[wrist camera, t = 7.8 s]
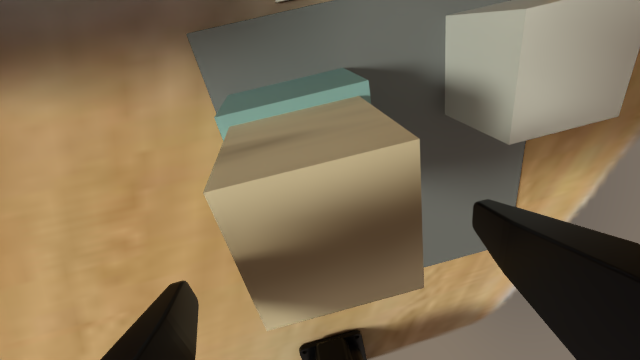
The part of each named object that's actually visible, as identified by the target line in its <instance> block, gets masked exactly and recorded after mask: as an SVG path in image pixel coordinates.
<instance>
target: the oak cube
mask: <svg viewBox="0 0 640 360" xmlns="http://www.w3.org/2000/svg"><path fill="white" fill-rule="evenodd" d="M203 193H204V196H205V198H206V200H207V202H208V204H209V206H210V209H211V211H212V213H213V215H214V217H215V219H216V222H217V224H218V226H219V228H220V230H221V233H222V235H223V237H224V239H225V241H226V243H227V246H228V248H229V250H230V252H231V254H232V257H233V259H234V261H235V263H236V265H237V267H238V270H239V272H240V274H241V276H242V278H243V280H244V283H245V285H246V287H247V289H248V291H249V294H250V296H251V298H252V300H253V302H254V304H255V307H256V309H257V311H258V313H259V315H260V318H261V320H262V322H263V324H264V326H265V328H266V331H270V330H273V329H277V328H280V327H284V326H288V325H291V324H295V323H298V322H302V321H306V320H309V319H313V318H317V317H320V316H324V315H327V314H331V313H335V312H338V311H342V310H345V309H349V308H353V307H356V306H360V305H363V304H367V303H371V302H374V301H378V300H381V299H385V298H389V297H392V296H396V295H399V294H403V293H407V292H410V291H414V290H417V289H421V288H424V269H423V236H422V202H421V168H420V139H419V138H418V137H416V136H415V135H414V134H412V133H411V132H409V131H408V130H406V129H405V128H404V127H402V126H401V125H399V124H398V123H397V122H395V121H394V120H392V119H391V118H390V117H388V116H387V115H385V114H384V113H382V112H381V111H380V110H378V109H377V108H375V107H374V106H373V105H371V104H370V103H368V102H367V101H366V100H364V99H363V98H361V97H360V96H356V97H351V98H347V99H343V100H339V101H335V102H331V103H326V104H322V105H318V106H314V107H310V108H305V109H301V110H297V111H293V112H289V113H285V114H280V115H276V116H272V117H268V118H264V119H259V120H255V121H251V122H247V123H243V124H238V125H234V126H230V127H229V129H228V131H227V134H226V136H225V139H224V141H223V144H222V147H221V149H220V152H219V154H218V157H217V159H216V162H215V164H214V167H213V169H212V172H211V174H210V177H209V180H208V182H207V185H206V187H205V190H204V192H203Z"/></svg>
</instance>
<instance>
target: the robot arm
mask: <svg viewBox="0 0 640 360" xmlns="http://www.w3.org/2000/svg"><path fill="white" fill-rule="evenodd" d="M472 226H473V229H474V231H475V232H476V234H477V235H478V237H479V238H480V240H481V241H482V242H483V244H484V245H485V247H486V248H487V250H488V251H489V253H490V254H491V256H492V257H493V259H494V260H495V262H496V263H497V265H498V266H499V267H500V269H501V270H502V271H503V273H504V274H505V275H506V276H507V278H508V279H509V280H510V281H511V282H512V284H513V285H514V286H515V287H516V288H517V290H518V291H519V292H520V293H521V294H522V295H523V297H524V298H525V299H526V300H527V301H528V303H529V304H530V305H531V306H532V307H533V309H535V311H536V312H537V313H538V314H539V316H540V317H541V318H542V319H543V320H544V321H545V323H546V324H547V325H548V326H549V328H550V329H551V330H552V331H553V332H554V333H555V334H556V336H557V337H558V338H559V339H560V341H561V342H562V343H563V344H564V345H565V346H566V348H567V349H568V350H569V351H570V352H571V353H572V355H573V356H574V357H575V358H576V360H640V244H638V243H635V242H632V241H628V240H625V239H622V238H618V237H615V236H612V235H608V234H605V233H601V232H598V231H594V230H591V229H588V228H585V227H581V226H578V225H574V224H571V223H568V222H564V221H561V220H558V219H554V218H551V217H548V216H544V215H541V214H537V213H534V212H531V211H527V210H524V209H521V208H517V207H514V206H510V205H507V204H504V203H500V202H497V201H494V200H490V199H485V200H481V201H477V202H475V203H474V205H473V216H472ZM197 323H198V300H197V297H196V296H195V294H194V292H193V291H192V289H191V288H190V286H189V284H188V283H187V282H186V281H180V282H176V283H172V284H170V285H169V286H168V287H167V288H166V289H165V290H164V291H163V292H162V294H161V295H160V296H159V297H158V298H157V299H156V300H155V301H154V302H153V303H152V304H151V305H150V307H149V308H148V309H147V310H146V311H145V312H144V313H143V314H142V315H141V316H140V317H139V318H138V320H137V321H136V322H135V323H134V324H133V325H132V326H131V327H130V328H129V329H128V330H127V331H126V333H125V334H124V335H123V336H122V337H121V338H120V339H119V340H118V341H117V342H116V343H115V344H114V346H113V347H112V348H111V349H110V350H109V351H108V352H107V353H106V354H105V355H104V356H103V357H102V359H101V360H195V355H196V341H197ZM299 351H300V356H301V358H302V360H367V359H366V354H365V349H364V345H363V340H362V336H361V332H360V331H358V330H356V331H352V332H349V333H345V334H342V335H338V336H335V337H331V338H328V339H324V340H321V341H317V342H314V343H310V344H307V345H303V346H301V347H300V348H299Z"/></svg>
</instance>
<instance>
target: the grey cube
mask: <svg viewBox="0 0 640 360" xmlns="http://www.w3.org/2000/svg"><path fill="white" fill-rule="evenodd" d="M639 48H640V0H511V1H506V2H502V3H498V4H493V5H489V6H485V7H481V8H476V9H472V10H468V11H464V12H459V13H455V14H451V15H446V35H445V115H447V116H449V117H451V118H453V119H455V120H457V121H459V122H462V123H464V124H466V125H468V126H470V127H472V128H474V129H476V130H479V131H481V132H483V133H485V134H487V135H489V136H491V137H493V138H496V139H498V140H500V141H502V142H504V143H506V144H508V145H510V144H514V143H518V142H522V141H526V140H530V139H534V138H537V137H541V136H545V135H549V134H553V133H557V132H561V131H564V130H568V129H572V128H576V127H580V126H584V125H587V124H591V123H595V122H599V121H603V120H607V119H611V118H614V117H618V116H619V113H620V110H621V107H622V104H623V100H624V97H625V94H626V91H627V87H628V84H629V81H630V78H631V74H632V71H633V68H634V65H635V61H636V58H637V55H638V52H639Z"/></svg>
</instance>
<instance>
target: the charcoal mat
mask: <svg viewBox="0 0 640 360" xmlns="http://www.w3.org/2000/svg"><path fill="white" fill-rule="evenodd" d="M506 1H511V0H333V1H329V2H324V3H320V4H315V5H311V6H306V7H302V8H298V9H293V10H289V11H284V12H280V13H276V14H271V15H267V16H262V17H258V18H254V19H249V20H245V21H240V22H236V23H231V24H227V25H223V26H218V27H214V28H209V29H205V30H201V31H196V32H192V33H187V37H188V40H189V42H190V45H191V48H192V50H193V53H194V56H195V58H196V61H197V63H198V66H199V69H200V71H201V74H202V77H203V79H204V82H205V84H206V87H207V90H208V92H209V95H210V98H211V100H212V103H213V106H214V108H215V111H216V113H217V112H218V111H219V109H220V107H221V106H222V104H223V103H224V101H225V99H226V98H227V96H228V95H231V94H235V93H239V92H243V91H247V90H252V89H256V88H260V87H264V86H268V85H273V84H277V83H281V82H285V81H289V80H294V79H298V78H302V77H306V76H310V75H314V74H319V73H323V72H327V71H331V70H335V69H340V68H344V69H347V70H349V71H351V72H353V73H355V74H357V75H359V76H361V77H363V78H365V79H367V80H369V89H370V98H371V105H373V106H374V107H375V108H377V109H378V110H380V111H381V112H382V113H384V114H385V115H387V116H388V117H390V118H391V119H392V120H394V121H395V122H397V123H398V124H399V125H401V126H402V127H404V128H405V129H406V130H408V131H409V132H411V133H412V134H414V135H415V136H416V137H418V138H419V139H420V168H421V202H422V236H423V268H424V267H428V266H431V265H435V264H438V263H442V262H446V261H449V260H453V259H456V258H460V257H464V256H467V255H471V254H474V253H478V252H482V251H485V250H487V248H486V247H485V245H484V244H483V242H482V241H481V240H480V238H479V237H478V235H477V234H476V232H475V231H474V229H473V226H472V216H473V205H474V203H475V202H477V201H481V200H485V199H490V200H494V201H497V202H500V203H504V204H507V205H510V206H514V207H516V200H517V194H518V187H519V181H520V175H521V168H522V162H523V155H524V149H525V142H526V141H522V142H518V143H514V144H510V145H508V144H506V143H504V142H502V141H500V140H498V139H496V138H493V137H491V136H489V135H487V134H485V133H483V132H481V131H479V130H476V129H474V128H472V127H470V126H468V125H466V124H464V123H462V122H459V121H457V120H455V119H453V118H451V117H449V116H447V115H445V35H446V15H451V14H455V13H459V12H464V11H468V10H472V9H476V8H481V7H485V6H489V5H493V4H498V3H502V2H506Z"/></svg>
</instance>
